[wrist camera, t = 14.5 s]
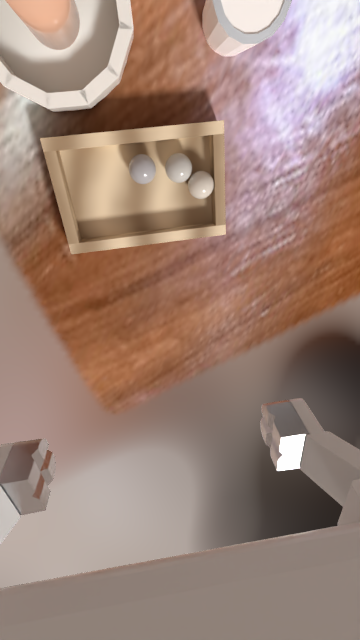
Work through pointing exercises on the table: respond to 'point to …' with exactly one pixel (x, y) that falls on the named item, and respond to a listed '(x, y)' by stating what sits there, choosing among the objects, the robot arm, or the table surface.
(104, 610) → the robot arm
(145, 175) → the pebble
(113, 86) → the bowl
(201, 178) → the pebble
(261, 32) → the shot glass
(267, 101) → the table surface
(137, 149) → the parts tray
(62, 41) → the peach cylinder
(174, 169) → the pebble
